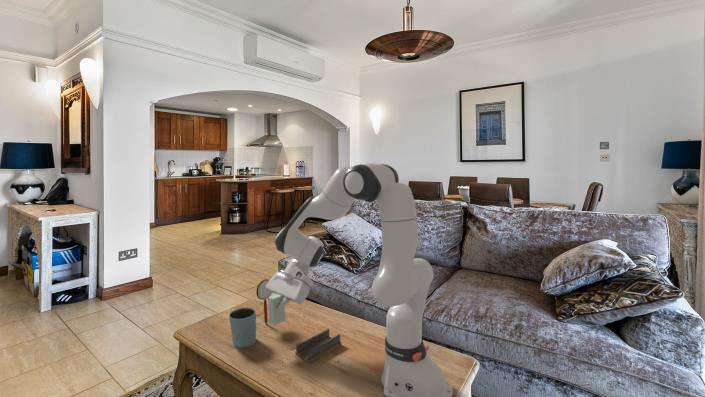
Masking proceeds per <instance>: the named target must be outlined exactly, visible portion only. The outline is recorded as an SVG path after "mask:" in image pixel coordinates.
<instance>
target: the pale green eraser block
mask: <svg viewBox="0 0 705 397" xmlns="http://www.w3.org/2000/svg"><path fill="white" fill-rule="evenodd" d="M283 298H284V296H283V295H280V294H275V295H273V294H272V295H270V296H269V297H268V298H267V309H268V323H269V324H270V325H273V326H276V325H279V324H281V323H283V322H285V321H286V309H285V306H286V305H285V306H284V307H283V308H282V310H280V309H278V308H277V305H278V303H281V302H282V301H283Z"/></svg>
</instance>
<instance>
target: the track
mask: <svg viewBox="0 0 705 397" xmlns="http://www.w3.org/2000/svg"><path fill="white" fill-rule="evenodd" d="M341 346H342V342H341V334H339V333H338V334H337V335H334V336H333V337H332V336H330V329H329V328H327V329H326V330H323V331H321V332H319V333H317V334H315V335H313V336H311V337H309V338H307V339H305V340H304V341H302V342H299V343H297V344H296V345H295V349H296V350H295V352H294V353H295V354H294V355H295V356H297V357H298V358H300V359H302V360H303V361H305V362H306V363H308V364H311V363H313V362H315V361H316V360H318V359H319V358H322V357H324V356H325V355H326V354H329V353H330V352H332V351H333V350H335V349H337V348H339V347H341Z"/></svg>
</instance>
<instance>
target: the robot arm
mask: <svg viewBox="0 0 705 397" xmlns="http://www.w3.org/2000/svg"><path fill="white" fill-rule="evenodd" d="M399 181H400V177H399V175H398V172H397V170H396V169H395V168H393V167H392V166H390V165H388V164H383V163H380V164H379V163H377V164H376V163H374V162H373V163H365V164H355V165H353V166H351V167H350V166H341V167H338V168H337V169H336V170H335V171H334V173H333V174H332V175H331V177H330V178H329V179H328V181H327V183H326V184H325V186H324V188H323V190H322V191H321V193H319V194H318V195H316V196H314V195H313V196H310V197H309V198H308V199H306V200H305V202H304V203H303V204H302V205H301V206H300V207H299V209H298V210H297V211H296V212H295V214H294V215H293V216H292V218H291V219H290V220H289V221H288V223H287V224H286V226H284V227H283V228H281V230H280V231H279V232H278V234H276V237H275V240H274V245H275V248H276V250H277V251H278V252H281V253H282V254H285V255H287V256H289V257H290V258H291V260H289V262H288V264H287V266H286V267H285V269H284V270H283V269H280V270H279V271H276V272H275V273H274V274H273V276H272V277H271V278H270V279H268V280H269V282H268V283H267V284H266V289H267V290H269V291H270V292H271V294H272V295H275V294H280V295H283V296H284V298H283V301H282V302H281V303H278V305H277V308H278V309H280V310H282V308H283V307H284V306H286V305H288V304H289V303H290V301H291V302H294V303H296V304H299V305H301V304H303V303H304V302H305V301H306V299H307V297H308V295H309V293H310V290H311V288H312V287H313V286H314V284H315V282H314V281H313V280H312V279H311V278H310V277H309V274H310V273H311V269H312V268H315V267H318V264H319V263H320V262H321V260H322V258H323V257H324V256H325V251H324V243H323V241H322V240H321V239H320V238H318V237H316V236H313V235H310V236H309V235H308V236H307V234H304V233H302V232H301V231H300V230H299V227H300V226H301V225H302V223H304V221H305V220H306V219H308V218H319V219H322V220H323V219H324V220H331V221H333V220H338V219H341V218H343V217H344V216H346V214H347V213H348V212H349V210H350V208H351V207H352V206H353V204H354V201H355V200H359V201H363V202H366V203H374V202H375V203H377V206H378V208H379V216H380V225H381V226H380V227H381V240H382V241H381V243H382V248H381V249H382V250H381V257H380V263H379V267H378V270H377V274H376V275H375V277H374V279H373V281H372V284H371V293H372V295H373V297H374V299H375V301H376V302H377V303H378V304H379V305H381V306H383V307H384V308H389V309H388V311H387V314H386V317H385V318H386V326H385V327H386V328H385V329H386V330H385V331H386V336H385V338H384V352H385V360H384V366H383V371H382V373H381V374H382V375H381V378H380V380H381V382H380V383H381V384H382V387H383V394H384V396H385V397H453V395H454V390H453V389H454V388H453V386H452V385H450V384H449V383H447V382H446V379H445V374H444V371H443V370H442V368H441V367H440V366H439V365H437V363H436V362H435V361H434V360H433V359H432V358H431V356H429V354H428V353H427V351H429V350H430V345H426V346H425V343H424V340H423V339H422V336H423V335H422V334H423V333H422V332H423V331H422V330H423V315H424V310H425V306H426V302H427V298H428V292H429V288H430V286H431V284H432V282H433V279H434V275H435V274H434V269H433V267H432V265H431V264H430V262H429V261H428V260H426V259H424V258H421V257H416V256H415V255H416V252H417V249H418V247H419V243H420V242H419V241H420V238H419V237H420V236H419V228H418V226H419V225H418V216H417V215H418V214H417V209H416V203H415V199H414V195H413V192H412V189H411V188H410V186H409V185H407V184H405V183H403V182H399Z"/></svg>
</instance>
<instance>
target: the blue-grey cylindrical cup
mask: <svg viewBox="0 0 705 397" xmlns="http://www.w3.org/2000/svg"><path fill="white" fill-rule="evenodd" d="M228 320H229V324H230V325H229V326H230V330H231V336H232V344H233V346H234V347H235V348H238V349H239V348H240V349H243V348H248V347H251V346H253V345H254V344H256V341H257V323H256V322H257V310H256V309H255V308H252V307H240V308H237V309H234V310H232V311H231V312H229V315H228Z"/></svg>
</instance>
